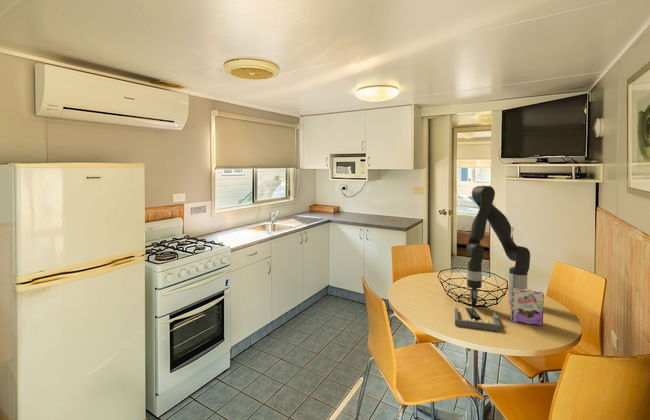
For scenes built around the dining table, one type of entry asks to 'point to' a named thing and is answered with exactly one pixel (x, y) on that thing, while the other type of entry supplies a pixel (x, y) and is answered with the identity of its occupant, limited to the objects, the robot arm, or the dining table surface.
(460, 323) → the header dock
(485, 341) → the dining table surface
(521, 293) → the candy box
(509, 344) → the dining table surface
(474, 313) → the multiport hub
